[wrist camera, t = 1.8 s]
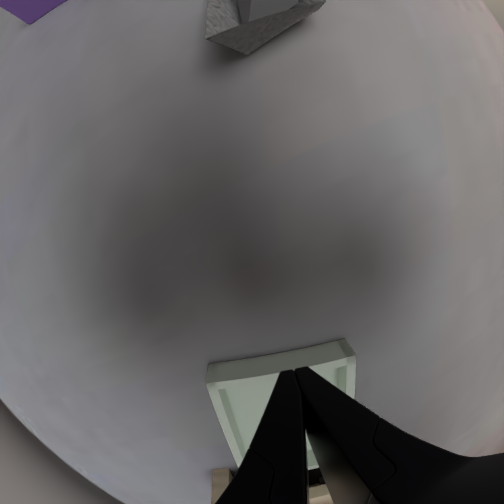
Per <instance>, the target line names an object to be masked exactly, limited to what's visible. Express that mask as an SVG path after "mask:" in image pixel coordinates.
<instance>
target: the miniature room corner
mask: <svg viewBox="0 0 504 504" xmlns="http://www.w3.org/2000/svg"><path fill="white" fill-rule="evenodd" d="M65 1H66V0H0V7H2V8H4V9H5V10H7V11H8V12H10V13H12V14H13V15H15V16H16V17H18V18H20V19H21V20H23V21H24V22H26V23H28V24H31V23H33V22H35V21H36V20H38V19H39V18H40V17H42V16H43V15H45V14H46V13H48V12H49V11H51V10H52V9H54V8H55V7H57V6H58V5H60V4H62V3H63V2H65Z"/></svg>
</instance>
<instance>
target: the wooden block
mask: <svg viewBox="0 0 504 504" xmlns="http://www.w3.org/2000/svg"><path fill="white" fill-rule="evenodd" d="M232 478H233V476H232V474H231V472H230V470H229V469H213V478H212V497H211V504H215V503H216V501H217V500H218V499H219V497H220V496H221V494H222V493H223V492H224V490H225V489H226V488H227V486H228V485H229V483H230V482H231V480H232ZM309 501H310V504H334V503H333V501H332V498H331V496H330V493H329V491H328V488H327V486H326V483H325V481H324V478H323V477H320V478H319V483H317V484H312V485H309Z"/></svg>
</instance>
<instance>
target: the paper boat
mask: <svg viewBox="0 0 504 504" xmlns="http://www.w3.org/2000/svg"><path fill="white" fill-rule="evenodd" d="M325 2H326V0H208V6H207V19H206V34H205V39H207V40H210V41H212V42H215V43H218V44H221V45H223V46H226V47H229V48H231V49H234V50H236V51H239V52H241V53H244V54H246V55H249V54H250V53H252V52H253V51H254V50H256V49H257V48H259V47H260V46H261V45H263V44H264V43H266V42H267V41H269V40H270V39H272V38H273V37H275V36H276V35H278V34H279V33H281V32H282V31H284V30H285V29H287V28H289V27H290V26H292V25H293V24H295V23H297V22H298V21H300V20H302V19H303V18H305V17H307V16H309V15H310V14H312V13H314V12H316V11H317V10H319V9H320V7H321V6H322V5H323V4H324V3H325Z"/></svg>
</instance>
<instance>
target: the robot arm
mask: <svg viewBox="0 0 504 504" xmlns="http://www.w3.org/2000/svg"><path fill="white" fill-rule="evenodd" d="M306 434H307V437H308V440H309V443H310V445H311V448H312V450H313V453H314V455H315V458H316V461H317V463H318V466H319V468H320V471H321V473H322V476H323V478H324V481H325V483H326V486H327V488H328V491H329V493H330V496H331V498H332V501H333V503H334V504H504V453H499V454H494V455H488V456H481V457H467V456H462V455H458V454H455V453H452V452H450V451H447V450H445V449H442V448H440V447H437V446H435V445H432V444H430V443H428V442H425V441H423V440H421V439H419V438H416V437H414V436H412V435H410V434H408V433H406V432H404V431H402V430H401V429H399V428H397V427H396V426H394V425H392V424H391V423H389V422H387V421H386V420H384V419H383V418H380V417H379V416H378V415H377V414H375V413H374V412H372V411H371V410H369V409H368V408H366V407H365V406H363V405H362V404H360V403H359V402H357V401H356V400H354V399H353V398H351V397H350V396H349V395H347V394H346V393H344V392H343V391H341V390H340V389H339V388H337V387H336V386H334V385H333V384H331V383H330V382H329V381H327V380H326V379H324V378H323V377H322V376H320V375H319V374H318V373H316V372H315V371H313V370H312V369H311V368H309V367H308V366H304V367H300V368H296V369H295V370H293V369H290V370H285V371H281V372H280V373H279V375H278V378H277V381H276V383H275V386H274V388H273V391H272V393H271V396H270V398H269V401H268V403H267V406H266V408H265V411H264V413H263V416H262V418H261V420H260V423H259V425H258V427H257V430H256V432H255V434H254V437H253V439H252V441H251V443H250V446H249V449H248V450H247V452H246V454H245V456H244V459H243V461H242V463H241V464H240V466H239V468H238V470H237V472H236V474H235V475H234V477H233V478H232V480H231V482H230V483H229V485H228V486H227V488H226V489H225V490H224V492H223V493H222V494H221V496H220V497H219V499H218V500H217V501H216V503H215V504H310V501H309V478H308V459H307V443H306Z"/></svg>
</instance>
